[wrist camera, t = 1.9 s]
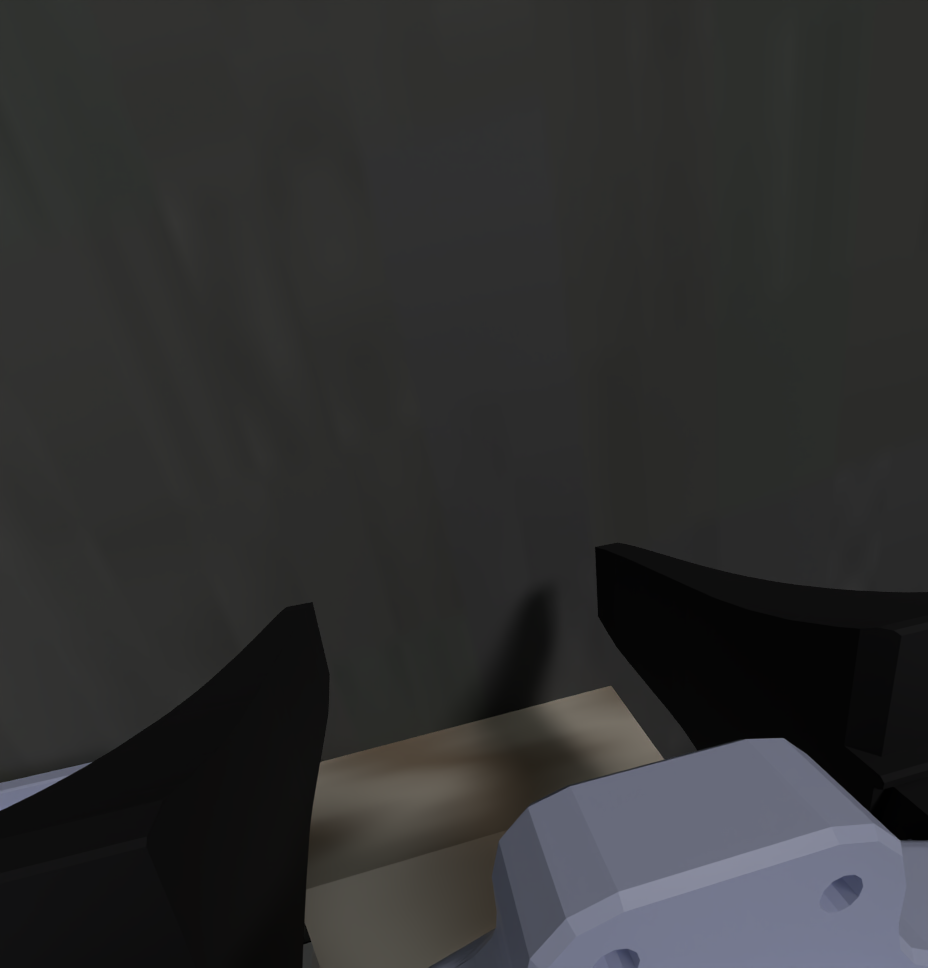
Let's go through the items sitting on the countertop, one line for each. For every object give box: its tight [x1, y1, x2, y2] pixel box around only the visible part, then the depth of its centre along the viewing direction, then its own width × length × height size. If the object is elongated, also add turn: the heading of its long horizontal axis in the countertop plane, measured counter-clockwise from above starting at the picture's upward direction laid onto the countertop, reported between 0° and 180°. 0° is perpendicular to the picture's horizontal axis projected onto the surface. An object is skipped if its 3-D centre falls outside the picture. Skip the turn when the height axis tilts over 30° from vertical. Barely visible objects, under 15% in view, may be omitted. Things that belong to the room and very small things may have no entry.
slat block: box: [304, 686, 664, 968], centre depth 15 cm, size 10×4×4 cm, turn 98°
